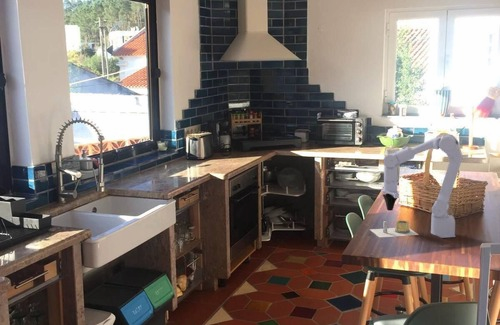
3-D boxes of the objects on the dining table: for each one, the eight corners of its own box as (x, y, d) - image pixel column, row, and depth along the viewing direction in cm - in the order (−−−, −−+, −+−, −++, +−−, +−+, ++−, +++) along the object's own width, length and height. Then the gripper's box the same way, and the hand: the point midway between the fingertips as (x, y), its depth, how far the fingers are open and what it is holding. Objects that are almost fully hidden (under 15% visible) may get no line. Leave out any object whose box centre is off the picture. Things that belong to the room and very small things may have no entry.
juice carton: (398, 182, 355) (399, 144, 351) (399, 184, 347) (400, 146, 343) (383, 182, 357) (384, 144, 352) (384, 184, 349) (384, 146, 345)
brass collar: (401, 227, 252) (401, 219, 251) (411, 229, 247) (411, 222, 247) (393, 229, 248) (393, 222, 248) (403, 232, 244) (403, 224, 244)
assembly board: (407, 229, 255) (407, 216, 254) (418, 236, 243) (419, 223, 242) (369, 231, 252) (369, 218, 251) (379, 239, 241) (379, 226, 240)
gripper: (376, 178, 256) (375, 206, 258) (388, 184, 242) (387, 214, 244) (390, 177, 257) (390, 205, 259) (403, 183, 243) (403, 213, 245)
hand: (389, 210), depth 252 cm, fingers closed
